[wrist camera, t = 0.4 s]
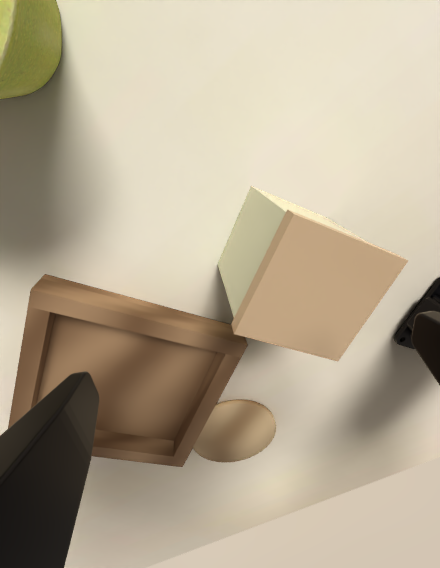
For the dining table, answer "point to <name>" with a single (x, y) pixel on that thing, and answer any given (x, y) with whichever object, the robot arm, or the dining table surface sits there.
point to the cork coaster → (236, 431)
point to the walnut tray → (127, 367)
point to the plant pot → (28, 45)
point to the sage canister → (301, 277)
